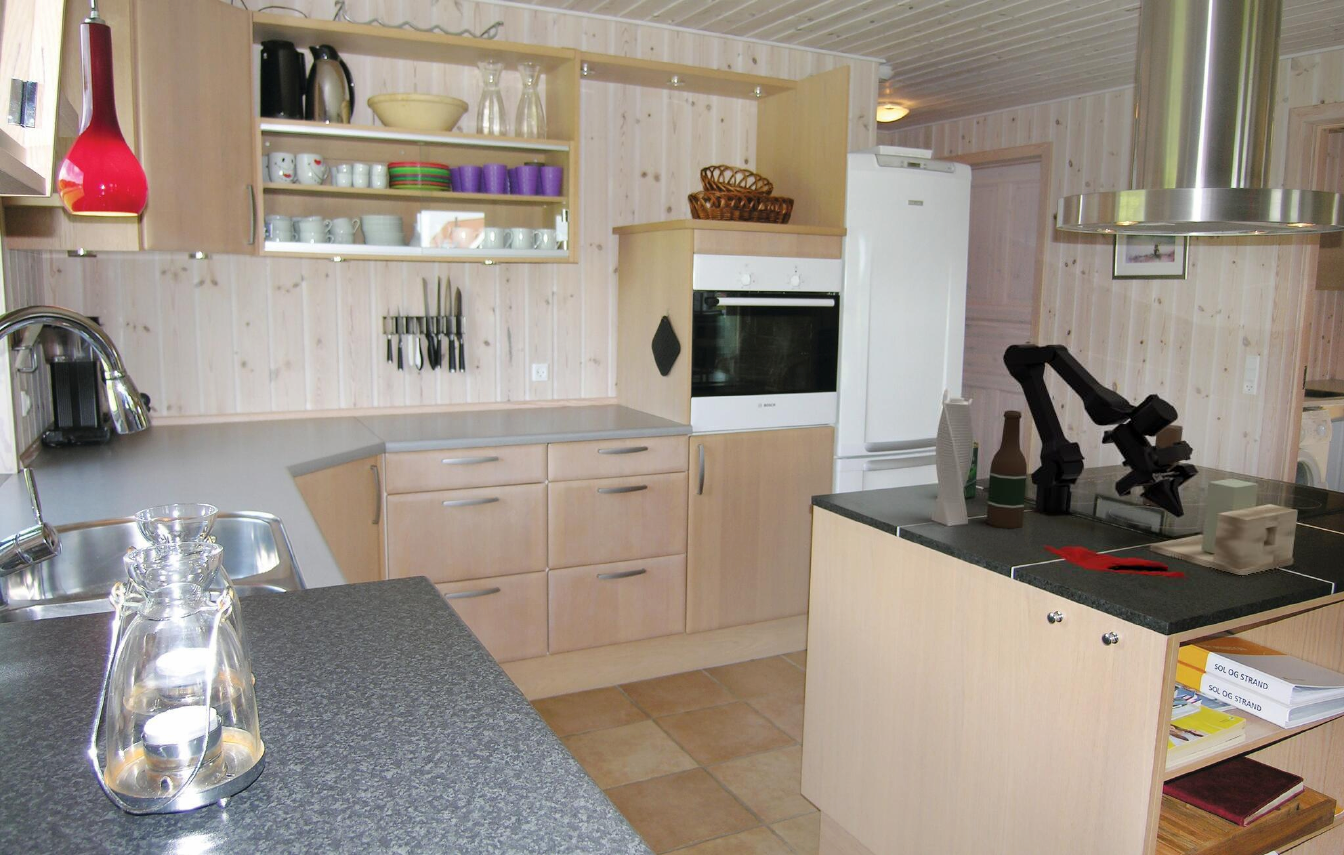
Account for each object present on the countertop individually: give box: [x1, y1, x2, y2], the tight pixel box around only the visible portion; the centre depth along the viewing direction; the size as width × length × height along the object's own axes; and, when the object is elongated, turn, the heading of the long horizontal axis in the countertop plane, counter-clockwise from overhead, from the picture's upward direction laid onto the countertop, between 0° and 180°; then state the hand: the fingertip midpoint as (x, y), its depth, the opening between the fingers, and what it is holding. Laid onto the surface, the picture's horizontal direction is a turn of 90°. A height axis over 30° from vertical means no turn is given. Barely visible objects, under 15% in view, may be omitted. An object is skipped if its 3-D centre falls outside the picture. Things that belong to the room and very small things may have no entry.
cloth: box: [1042, 546, 1187, 578], centre depth 174 cm, size 26×14×2 cm, turn 33°
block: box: [1201, 478, 1268, 553], centre depth 175 cm, size 9×7×13 cm
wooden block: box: [1143, 424, 1184, 508], centre depth 220 cm, size 9×4×18 cm, turn 138°
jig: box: [1149, 503, 1299, 576], centre depth 178 cm, size 18×16×10 cm
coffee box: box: [963, 441, 979, 500], centre depth 222 cm, size 8×3×13 cm, turn 122°
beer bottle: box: [986, 410, 1028, 529], centre depth 199 cm, size 8×8×24 cm
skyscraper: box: [931, 388, 975, 527], centre depth 200 cm, size 8×8×28 cm
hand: (1181, 516), depth 185 cm, fingers closed
